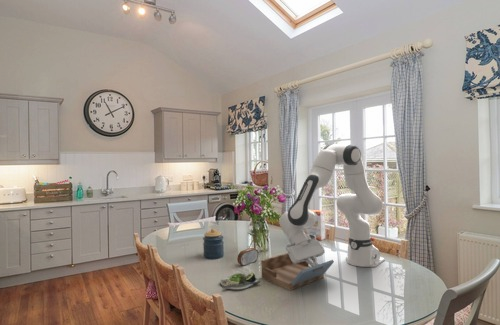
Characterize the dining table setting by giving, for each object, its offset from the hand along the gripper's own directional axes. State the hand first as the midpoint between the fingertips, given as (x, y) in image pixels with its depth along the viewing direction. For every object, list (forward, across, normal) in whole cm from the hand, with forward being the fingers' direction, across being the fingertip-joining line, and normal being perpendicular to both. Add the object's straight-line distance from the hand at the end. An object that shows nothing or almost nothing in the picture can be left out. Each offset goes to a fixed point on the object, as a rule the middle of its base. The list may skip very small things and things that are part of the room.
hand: (315, 266), depth 146 cm
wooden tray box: (-4, 0, +18) cm, 18 cm away
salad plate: (-12, -24, +27) cm, 38 cm away
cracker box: (-35, +67, +49) cm, 90 cm away
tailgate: (+1, 0, +8) cm, 9 cm away
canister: (-45, -12, +59) cm, 75 cm away
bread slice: (-27, -4, +41) cm, 49 cm away
